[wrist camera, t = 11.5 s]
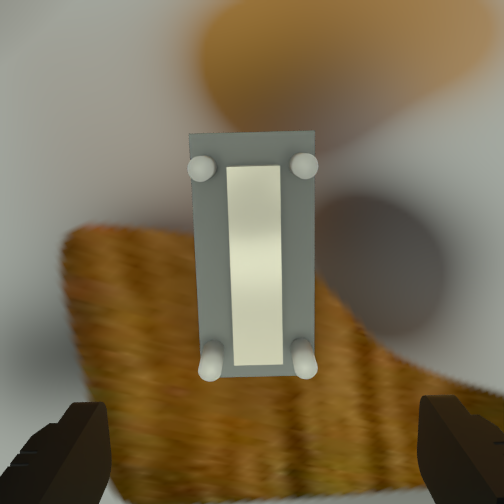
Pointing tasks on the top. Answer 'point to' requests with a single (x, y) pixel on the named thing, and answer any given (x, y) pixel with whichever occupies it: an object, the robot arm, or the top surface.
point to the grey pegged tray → (218, 251)
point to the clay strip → (255, 263)
